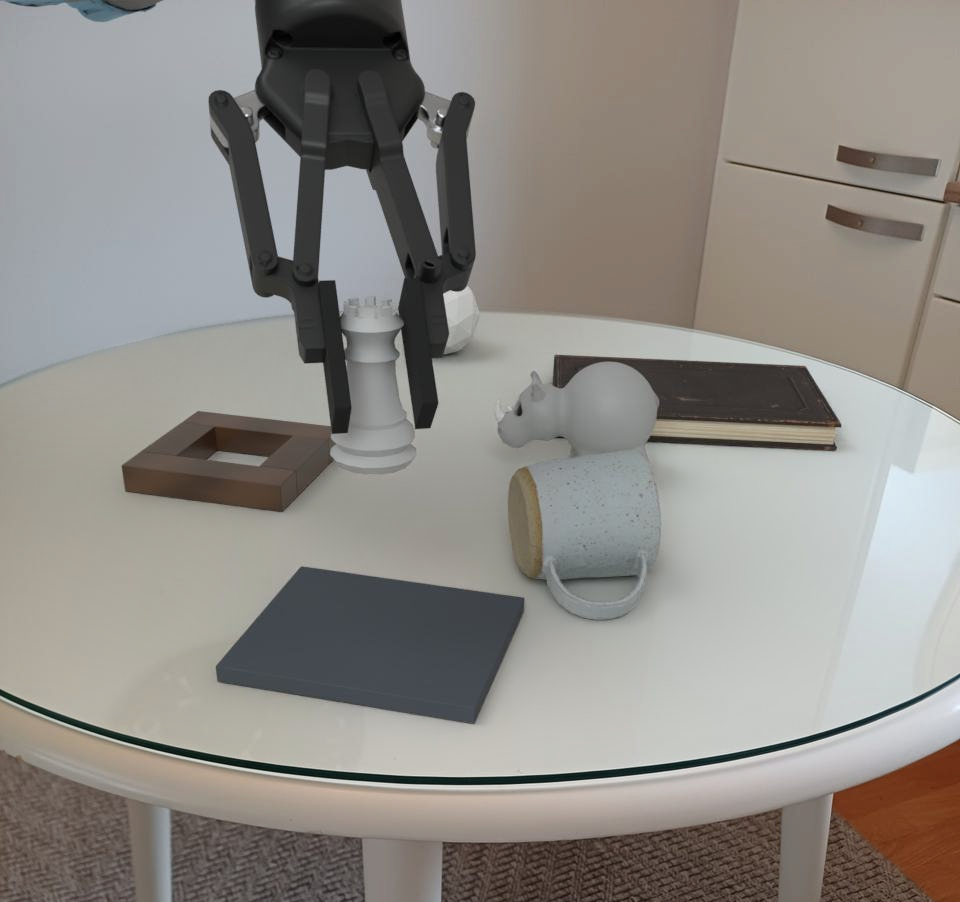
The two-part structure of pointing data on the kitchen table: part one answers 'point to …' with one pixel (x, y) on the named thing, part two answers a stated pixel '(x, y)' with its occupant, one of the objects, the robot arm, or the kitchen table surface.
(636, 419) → the chubby cartoon animal
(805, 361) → the kitchen table surface
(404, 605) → the mat
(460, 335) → the geometric ball
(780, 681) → the kitchen table surface
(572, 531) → the ceramic mug
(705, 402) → the hardcover book
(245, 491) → the stand
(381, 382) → the rook chess piece
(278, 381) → the kitchen table surface
